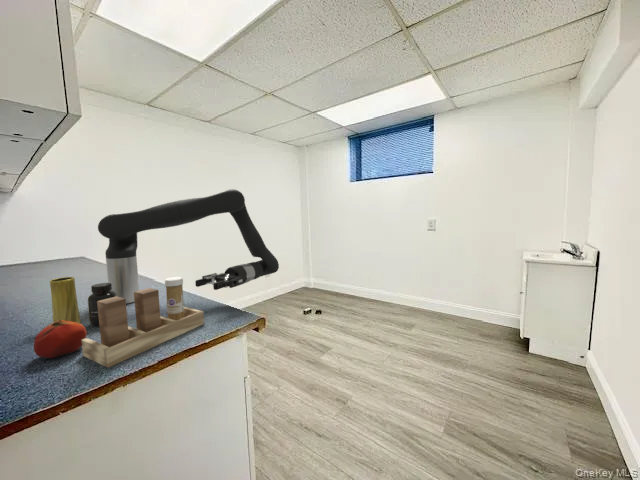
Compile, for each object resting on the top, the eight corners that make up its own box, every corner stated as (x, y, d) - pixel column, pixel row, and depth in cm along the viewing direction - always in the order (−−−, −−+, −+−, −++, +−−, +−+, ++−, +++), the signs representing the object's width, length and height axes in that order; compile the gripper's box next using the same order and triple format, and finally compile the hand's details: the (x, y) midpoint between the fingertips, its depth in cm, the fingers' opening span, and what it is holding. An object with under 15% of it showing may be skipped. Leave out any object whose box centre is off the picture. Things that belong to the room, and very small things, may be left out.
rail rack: (83, 355, 62) (77, 302, 61) (180, 317, 84) (177, 278, 83) (108, 367, 57) (102, 310, 56) (204, 323, 79) (201, 282, 78)
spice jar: (166, 326, 75) (162, 280, 74) (170, 320, 80) (167, 276, 78) (183, 324, 77) (180, 279, 75) (186, 318, 81) (183, 275, 80)
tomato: (82, 340, 70) (79, 311, 69) (93, 350, 64) (90, 319, 64) (31, 356, 62) (27, 323, 61) (39, 369, 57) (34, 334, 56)
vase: (47, 330, 76) (41, 282, 74) (62, 322, 82) (57, 277, 80) (72, 328, 77) (67, 280, 76) (85, 320, 83) (81, 276, 81)
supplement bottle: (91, 329, 76) (87, 289, 75) (88, 322, 81) (84, 284, 80) (120, 321, 81) (117, 284, 80) (116, 316, 86) (112, 280, 85)
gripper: (226, 263, 104) (189, 272, 89) (254, 266, 97) (220, 276, 83) (227, 282, 104) (191, 293, 90) (255, 286, 98) (221, 299, 84)
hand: (205, 285), depth 86 cm, fingers open, 8 cm apart
